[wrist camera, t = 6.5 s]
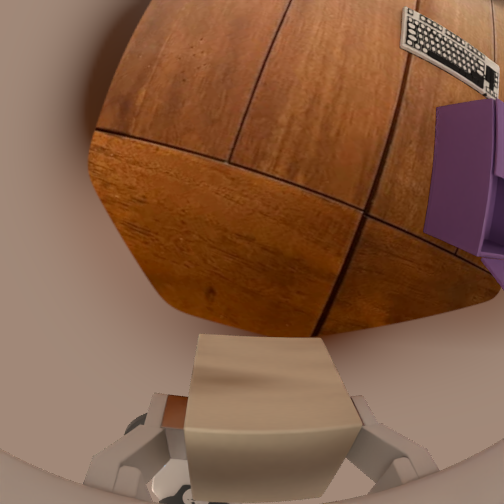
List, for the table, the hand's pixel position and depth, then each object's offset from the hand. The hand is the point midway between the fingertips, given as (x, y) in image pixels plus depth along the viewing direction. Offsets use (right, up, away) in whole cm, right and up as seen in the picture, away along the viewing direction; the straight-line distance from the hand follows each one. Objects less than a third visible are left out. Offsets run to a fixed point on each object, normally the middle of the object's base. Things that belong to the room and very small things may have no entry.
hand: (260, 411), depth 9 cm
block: (0, +1, +2) cm, 2 cm away
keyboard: (+25, +30, +15) cm, 42 cm away
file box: (+27, +15, +19) cm, 36 cm away
